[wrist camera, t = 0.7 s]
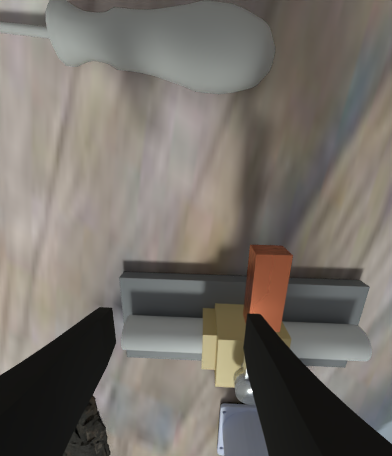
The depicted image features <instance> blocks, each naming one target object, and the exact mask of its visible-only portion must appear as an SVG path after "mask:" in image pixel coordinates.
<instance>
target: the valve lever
mask: <svg viewBox="0 0 392 456" xmlns="http://www.w3.org/2000/svg"><path fill="white" fill-rule="evenodd" d="M292 258H293V255H292V254H291V253H290V252H289V251H287V250H286V249H285V248H284V247H283V246H275V245H250V251H249V260H248V270H247V279H246V289H245V299H244V308H243V316H244V320H245V323H246V319H247V313H250V314H261V315H262V316H263V317H264V319H265V320H266V321H267V322H268V324H269V325H270V326H271V327H272V328H273V330H274V331H275V332H280V328H281V323H282V317H283V311H284V305H285V299H286V293H287V288H288V282H289V276H290V270H291V264H292ZM233 380H234V387H235V394H236V397H237V398H238V400H239V401H241V402H242V403H244V404H248V405H256V404H255V401H254V397H253V393H252V389H251V385H250V382H249V378H248V374H247V368H246V362H245V356H244V358H243V367H241V368H239V369H238V370H237V371H236V372H235V373H234V376H233Z"/></svg>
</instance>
